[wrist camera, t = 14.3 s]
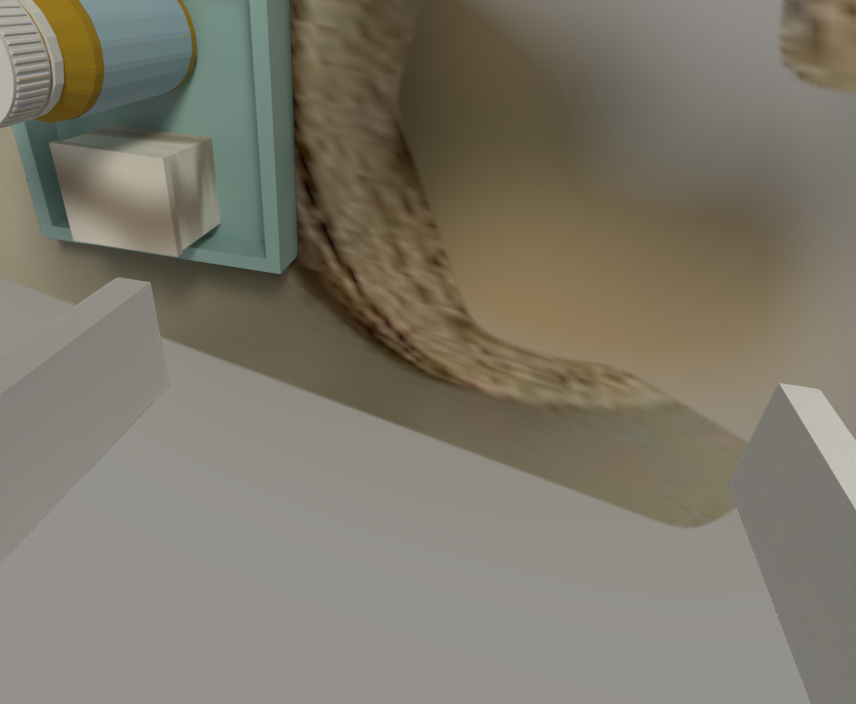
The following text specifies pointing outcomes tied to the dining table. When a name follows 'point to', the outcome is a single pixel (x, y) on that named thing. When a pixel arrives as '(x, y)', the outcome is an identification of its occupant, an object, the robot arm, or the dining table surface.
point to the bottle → (89, 55)
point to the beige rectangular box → (138, 188)
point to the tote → (209, 135)
